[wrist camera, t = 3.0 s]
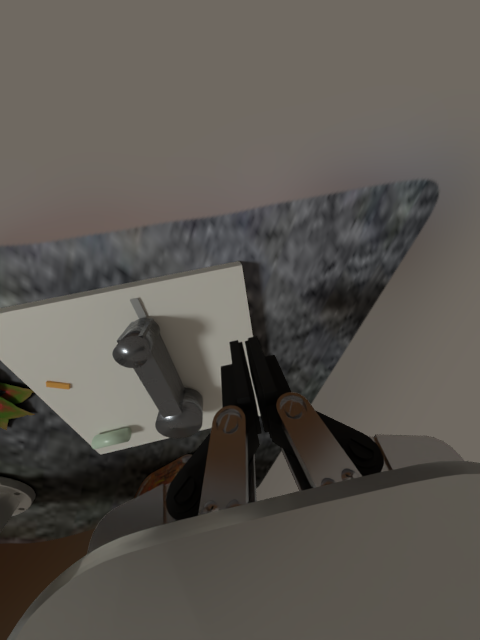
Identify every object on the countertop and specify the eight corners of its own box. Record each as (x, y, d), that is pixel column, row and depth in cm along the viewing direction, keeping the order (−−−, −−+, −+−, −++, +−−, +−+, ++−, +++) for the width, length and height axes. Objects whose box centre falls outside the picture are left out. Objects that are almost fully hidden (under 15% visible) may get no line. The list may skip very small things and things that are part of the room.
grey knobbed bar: (207, 409, 24) (207, 442, 21) (169, 418, 24) (162, 453, 20) (168, 311, 17) (157, 335, 13) (114, 322, 17) (87, 350, 13)
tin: (201, 445, 32) (198, 512, 25) (211, 452, 33) (212, 517, 26) (136, 480, 34) (116, 551, 27) (149, 485, 36) (133, 553, 28)
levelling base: (107, 439, 28) (94, 467, 24) (-15, 311, 17) (-66, 331, 14) (261, 403, 29) (268, 425, 26) (238, 260, 18) (244, 269, 15)
